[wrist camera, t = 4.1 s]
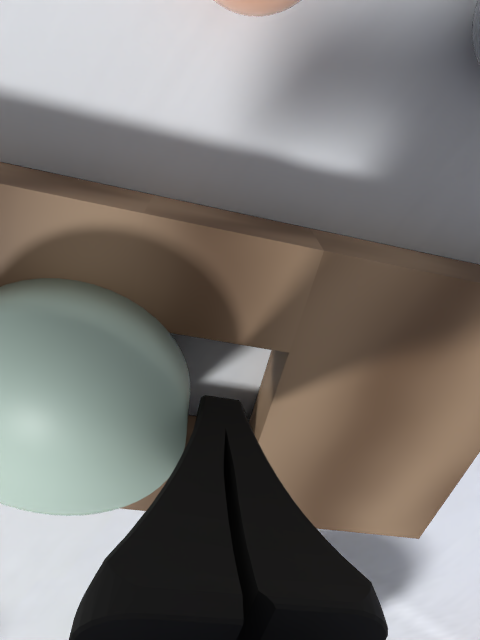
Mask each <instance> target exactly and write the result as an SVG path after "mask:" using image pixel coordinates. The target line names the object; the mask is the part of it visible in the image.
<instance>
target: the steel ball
mask: <svg viewBox="0 0 480 640" xmlns="http://www.w3.org/2000/svg"><path fill="white" fill-rule="evenodd" d="M472 39H473V47H474V52H475V56H476V58H477V61H478V63H479V65H480V0H478V2H477V5H476V9H475V13H474V18H473V25H472Z"/></svg>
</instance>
